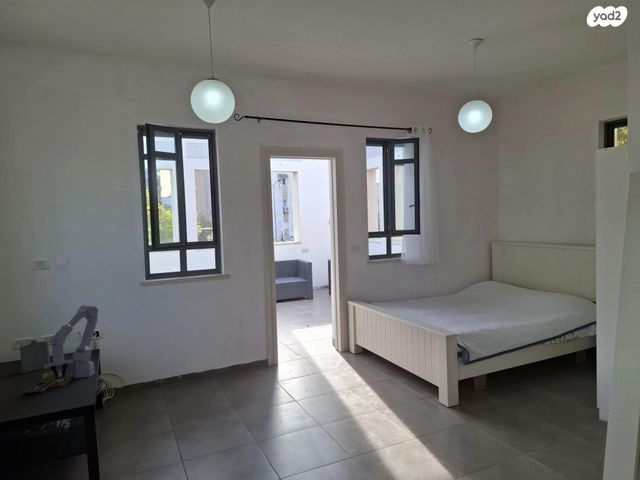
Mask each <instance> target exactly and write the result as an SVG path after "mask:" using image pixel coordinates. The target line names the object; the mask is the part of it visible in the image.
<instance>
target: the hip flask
mask: <svg viewBox="0 0 640 480" xmlns="http://www.w3.org/2000/svg"><path fill="white" fill-rule="evenodd" d="M19 351H20V363H21V373H22V374H26V373H29V372H33V371H38V370H42V369H45V366H44V365H46V364H50V363H51V356H50V343H49V340H44V341H43V340H42V341H38V339H31V340H30V343H28V344H24V345H19Z"/></svg>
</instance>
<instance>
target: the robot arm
mask: <svg viewBox="0 0 640 480" xmlns="http://www.w3.org/2000/svg"><path fill="white" fill-rule="evenodd" d="M98 314H99V309H98V308H97V306H96V305H86V304H83V305H81V306H79V308H78V309H77V312H76V313H75V314H74V316H73V317H72V318H71V319H70V320H69V322H68V323H67V324H64V325H61V328H60V329H59V330H58V331H56V333H55V334H53V335H52V336H51V337H50V338H49V340H48V343H49V345H51V346H50V347H51V352H52V362H50V364H46V365H44V366H45V368H44V369H45V370H47V369H49V368H50V369H51V372H52V373H54V374H55V377H56V380H57V372H56V371H57V367H59V366H62V370H63V378H65V376H66V371H67V368H68V366H69V364H74V363H75V369H76V375H75V376H74V379H75V378H78V379H79V378H90V377H92V376H93V375H94V374H96V372H95V363H94V361H91V359H92V348H90V346H91V343H92V339H93V336H94V333H95V329H96V325H97V322H98V319H99V318H98ZM84 318H85V320H86V325H85V327H84V330H83V335H82V338H81V340H80V344H79V346H77V347H76V348H75V351H74V353H73V354H72V359H65V352H64V351H65V350H64V344H65V342H66V339H67V337H68V336H69V335H70V334H71V333H72V332H73V327H75V326H76V325H77V324H78V323H79V322H80V321H81V319H84Z"/></svg>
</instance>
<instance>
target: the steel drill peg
mask: <svg viewBox="0 0 640 480" xmlns="http://www.w3.org/2000/svg"><path fill="white" fill-rule="evenodd" d="M56 374H57V379H59V380H58V381H57V383H62V382H64V379H65V378H64V377H63V369H58V370H56ZM57 379H56V380H57Z"/></svg>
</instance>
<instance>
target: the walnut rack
mask: <svg viewBox="0 0 640 480" xmlns="http://www.w3.org/2000/svg"><path fill="white" fill-rule="evenodd" d="M63 379H64V382H62V383H57V381H58V380H59V379H56V380H54V382H53V383H51V384H50V388H51V387H53V388H54V387H55V388H56V387H64V386H66V385H67V384H69V383H70V382H71V381H72V378H63Z"/></svg>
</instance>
